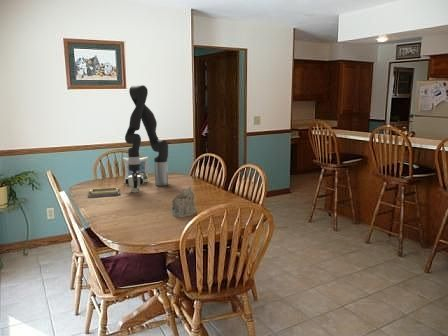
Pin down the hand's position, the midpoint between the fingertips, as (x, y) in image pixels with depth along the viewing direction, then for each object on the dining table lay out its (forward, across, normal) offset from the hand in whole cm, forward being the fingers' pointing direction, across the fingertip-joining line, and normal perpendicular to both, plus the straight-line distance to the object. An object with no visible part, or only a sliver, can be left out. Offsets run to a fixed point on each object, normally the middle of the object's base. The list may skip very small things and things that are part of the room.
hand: (135, 186), depth 259 cm
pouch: (+4, +29, -3) cm, 29 cm away
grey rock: (+4, -56, -21) cm, 60 cm away
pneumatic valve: (+4, 0, 0) cm, 4 cm away
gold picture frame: (+4, 0, +20) cm, 20 cm away
